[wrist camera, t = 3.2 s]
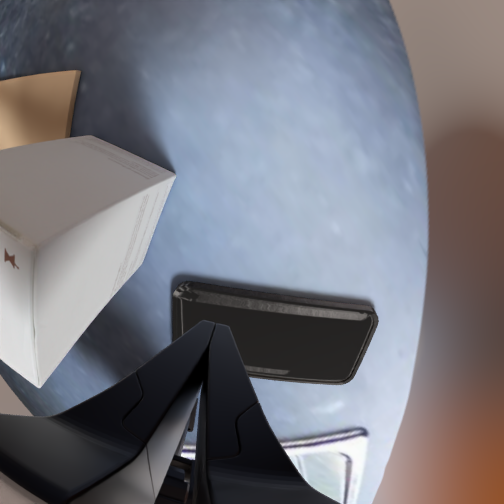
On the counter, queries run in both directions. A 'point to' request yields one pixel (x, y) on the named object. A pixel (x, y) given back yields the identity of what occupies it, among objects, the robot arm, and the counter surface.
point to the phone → (282, 331)
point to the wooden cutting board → (37, 108)
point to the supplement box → (68, 241)
